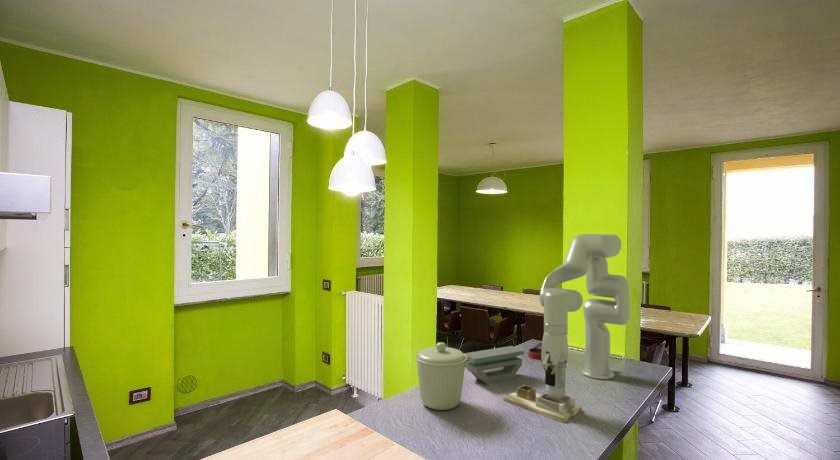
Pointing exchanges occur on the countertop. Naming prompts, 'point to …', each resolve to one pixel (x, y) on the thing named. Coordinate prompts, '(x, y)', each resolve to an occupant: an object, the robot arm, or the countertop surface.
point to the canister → (440, 376)
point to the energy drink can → (558, 380)
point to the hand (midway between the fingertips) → (555, 382)
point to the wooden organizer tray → (544, 403)
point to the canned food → (535, 352)
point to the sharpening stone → (494, 364)
